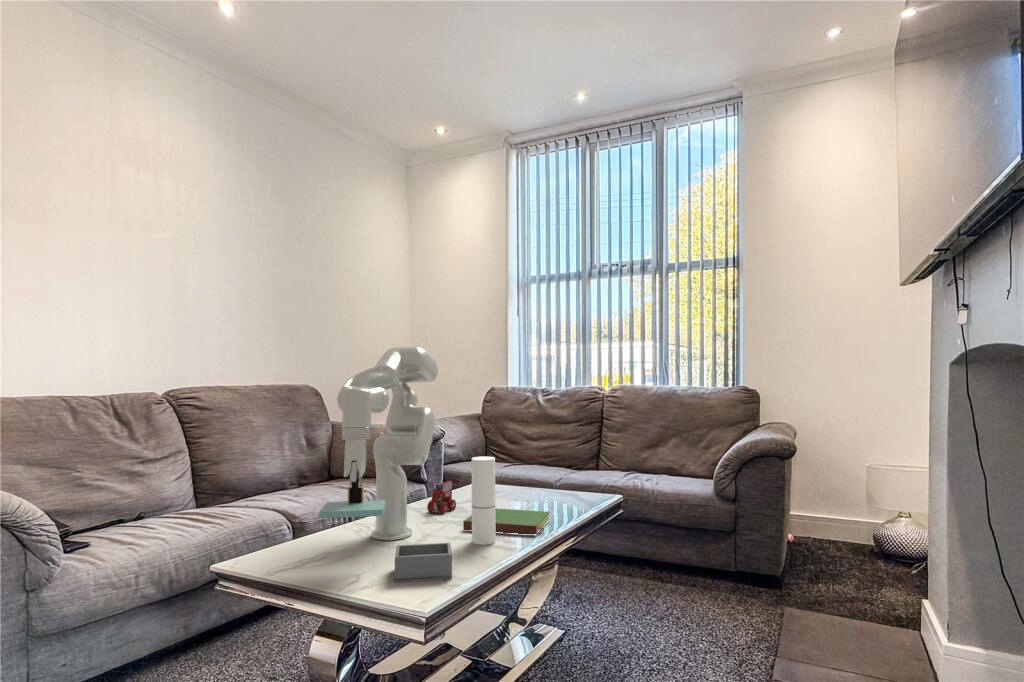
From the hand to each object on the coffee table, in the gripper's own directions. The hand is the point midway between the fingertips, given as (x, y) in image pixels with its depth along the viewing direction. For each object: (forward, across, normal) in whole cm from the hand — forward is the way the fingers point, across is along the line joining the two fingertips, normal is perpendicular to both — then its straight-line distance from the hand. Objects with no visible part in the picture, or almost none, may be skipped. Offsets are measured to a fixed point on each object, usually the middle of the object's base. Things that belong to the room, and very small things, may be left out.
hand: (355, 501), depth 158 cm
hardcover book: (+17, -30, +46) cm, 58 cm away
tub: (+17, +11, +18) cm, 27 cm away
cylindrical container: (+17, -14, +36) cm, 42 cm away
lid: (+1, +5, 0) cm, 5 cm away
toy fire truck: (+16, -55, +25) cm, 63 cm away
